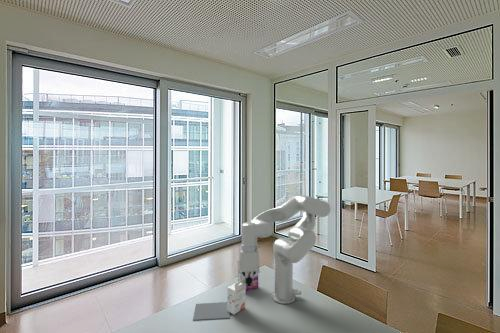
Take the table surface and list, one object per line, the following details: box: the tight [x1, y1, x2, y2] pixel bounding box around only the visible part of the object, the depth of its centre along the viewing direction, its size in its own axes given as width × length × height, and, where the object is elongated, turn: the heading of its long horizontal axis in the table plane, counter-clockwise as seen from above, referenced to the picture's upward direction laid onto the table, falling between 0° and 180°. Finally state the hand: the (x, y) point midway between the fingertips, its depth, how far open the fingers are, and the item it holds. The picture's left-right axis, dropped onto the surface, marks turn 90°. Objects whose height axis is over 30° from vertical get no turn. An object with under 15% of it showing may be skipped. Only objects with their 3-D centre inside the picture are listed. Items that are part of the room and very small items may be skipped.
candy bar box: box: [237, 260, 259, 292], centre depth 147 cm, size 11×5×16 cm, turn 117°
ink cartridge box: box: [226, 279, 247, 315], centre depth 125 cm, size 9×5×15 cm, turn 143°
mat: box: [192, 301, 231, 322], centre depth 124 cm, size 17×13×1 cm
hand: (248, 284), depth 126 cm, fingers closed
